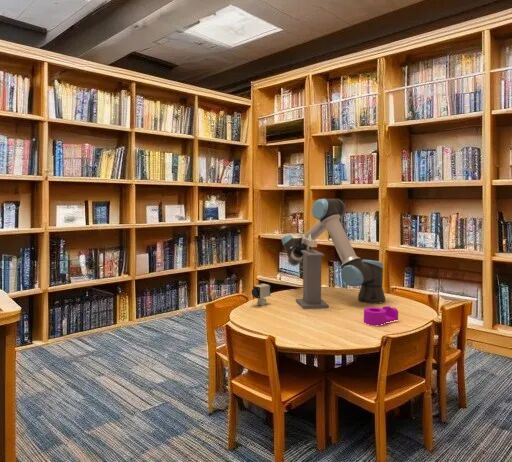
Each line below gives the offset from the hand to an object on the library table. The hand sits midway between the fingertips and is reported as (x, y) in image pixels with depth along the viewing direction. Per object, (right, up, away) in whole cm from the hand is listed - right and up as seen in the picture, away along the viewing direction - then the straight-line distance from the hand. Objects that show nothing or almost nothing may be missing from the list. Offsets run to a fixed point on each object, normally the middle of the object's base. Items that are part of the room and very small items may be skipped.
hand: (307, 236), depth 236 cm
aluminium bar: (0, -4, -3) cm, 5 cm away
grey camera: (-26, -38, -7) cm, 46 cm away
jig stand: (+2, -37, -7) cm, 38 cm away
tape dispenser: (+29, -40, -38) cm, 63 cm away
